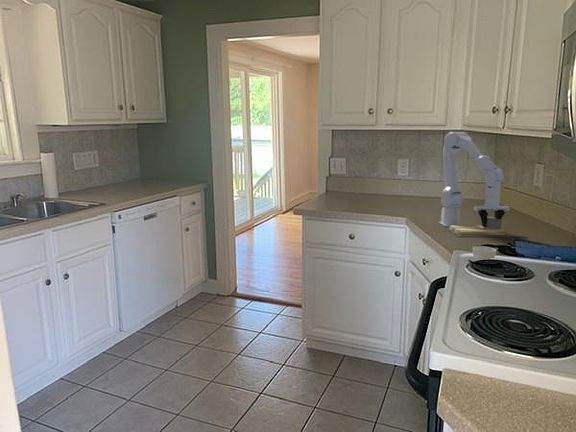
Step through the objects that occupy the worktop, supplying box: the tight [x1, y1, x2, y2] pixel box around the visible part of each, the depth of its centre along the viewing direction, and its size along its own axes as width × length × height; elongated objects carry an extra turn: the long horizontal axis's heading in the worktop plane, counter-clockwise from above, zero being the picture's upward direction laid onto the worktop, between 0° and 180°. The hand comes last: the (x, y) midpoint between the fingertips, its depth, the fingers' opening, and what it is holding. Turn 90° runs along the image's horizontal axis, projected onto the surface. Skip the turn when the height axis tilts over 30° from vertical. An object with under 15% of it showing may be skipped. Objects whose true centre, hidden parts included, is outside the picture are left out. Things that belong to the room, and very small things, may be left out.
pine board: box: [443, 224, 514, 238], centre depth 193 cm, size 18×23×2 cm
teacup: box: [472, 245, 498, 259], centre depth 148 cm, size 10×10×5 cm
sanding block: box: [481, 216, 503, 230], centre depth 192 cm, size 8×4×4 cm, turn 3°
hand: (490, 226), depth 193 cm, fingers closed on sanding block, 5 cm apart
